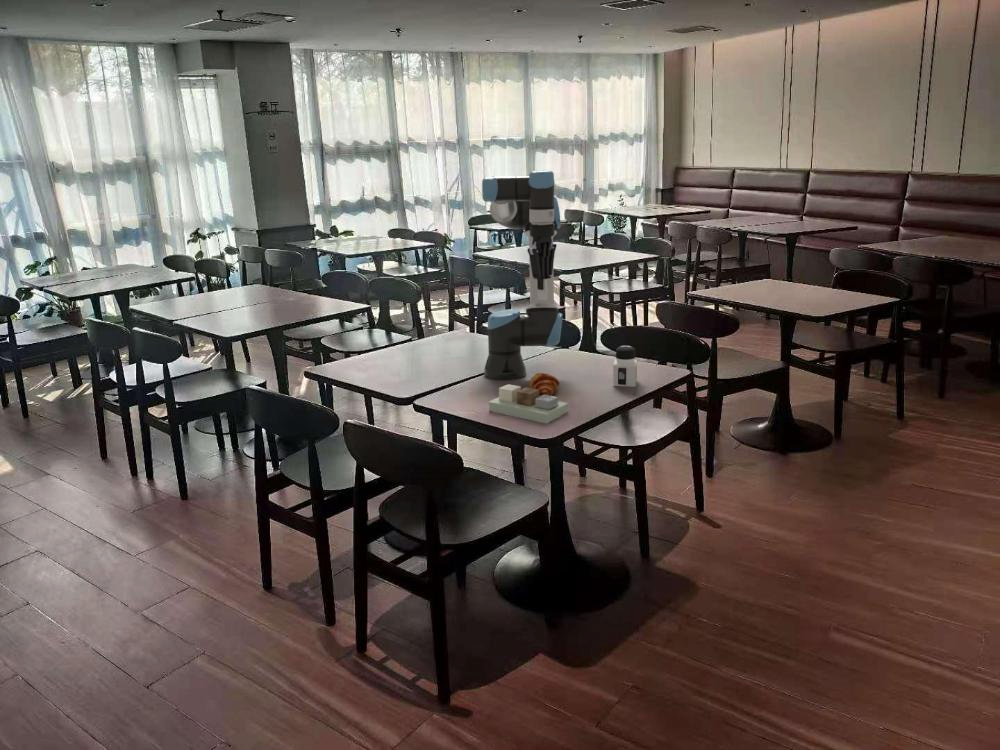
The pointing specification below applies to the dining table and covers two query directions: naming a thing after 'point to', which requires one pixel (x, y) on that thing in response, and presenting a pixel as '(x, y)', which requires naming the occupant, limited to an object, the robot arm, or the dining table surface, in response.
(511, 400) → the key ivory
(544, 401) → the white marble cube
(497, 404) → the pale green flat block
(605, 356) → the dining table surface
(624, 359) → the container
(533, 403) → the brown wooden cube
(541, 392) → the croissant
